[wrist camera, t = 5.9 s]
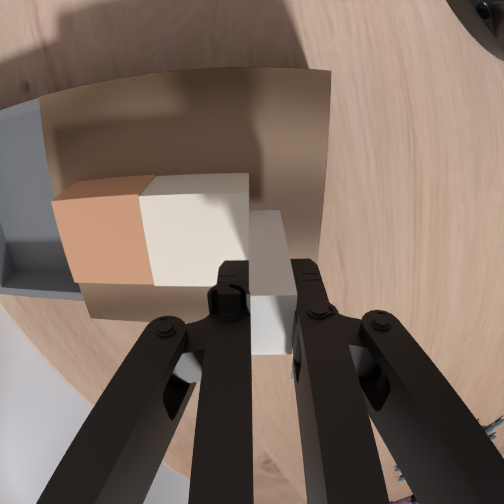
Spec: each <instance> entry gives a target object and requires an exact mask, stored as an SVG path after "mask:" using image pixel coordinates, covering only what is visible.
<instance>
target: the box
mask: <svg viewBox="0 0 504 504" xmlns="http://www.w3.org/2000/svg"><path fill="white" fill-rule="evenodd" d="M53 199H54V194H53V189H52V184H51V179H50V174H49V169H48V163H47V158H46V152H45V145H44V139H43V131H42V124H41V115H40V105H39V98H37V99H33V100H30V101H27V102H23V103H20V104H17V105H14V106H11V107H8V108H5V109H2V110H0V294H7V295H18V296H29V297H40V298H52V299H66V300H81V301H84V298H83V295H82V293H81V290H80V287H79V284H78V283H75V282H74V279H73V276H72V273H71V270H70V267H69V264H68V261H67V258H66V255H65V251H64V248H63V245H62V241H61V238H60V234H59V231H58V227H57V223H56V219H55V215H54V211H53V207H52V203H51V201H52V200H53Z"/></svg>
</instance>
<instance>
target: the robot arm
mask: <svg viewBox="0 0 504 504" xmlns="http://www.w3.org/2000/svg"><path fill="white" fill-rule="evenodd" d="M447 1H448V3H449V5H450V6H451V8H452V10H453V11H454V13H455V14H456V16H457V17H458V19H459V20H460V21H461V23H462V24H463V25H464V27H465V28H466V29H467V30H468V32H469V33H470V34H471V35H472V36H473V37H474V38H475V39H476V40H477V42H479V43H480V44H481V45H482V46H483V47H484V48H485V49H486V50H487V51H489V52H490V53H491V54H493V55H494V56H496V57H497V58H499V59H501V60H503V61H504V0H447ZM207 299H208V308H209V315H208V316H207V317H205V318H204V319H202V320H199V321H196V322H192V323H188V324H185V322H184V321H183V320H182V319H181V318H178V317H175V316H162V317H158V318H156V319H154V320H152V321H151V322H150V323H149V324H148V325H147V326H146V328H145V329H144V331H143V332H142V334H141V335H140V337H139V338H138V340H137V341H136V343H135V344H134V346H133V347H132V349H131V350H130V352H129V353H128V355H127V356H126V358H125V359H124V361H123V362H122V364H121V365H120V367H119V368H118V370H117V372H116V373H115V375H114V376H113V378H112V379H111V381H110V382H109V384H108V385H107V387H106V389H105V390H104V392H103V393H102V395H101V396H100V398H99V399H98V401H97V403H96V404H95V406H94V407H93V409H92V411H91V412H90V414H89V415H88V417H87V419H86V420H85V422H84V423H83V425H82V427H81V428H80V430H79V432H78V433H77V435H76V437H75V438H74V440H73V441H72V443H71V445H70V446H69V448H68V450H67V451H66V453H65V455H64V456H63V458H62V460H61V461H60V463H59V465H58V467H57V468H56V470H55V472H54V473H53V475H52V477H51V479H50V480H49V482H48V484H47V485H46V487H45V489H44V491H43V492H42V494H41V496H40V498H39V500H38V501H37V503H36V504H143V502H144V500H145V498H146V495H147V493H148V491H149V489H150V486H151V484H152V482H153V480H154V477H155V475H156V473H157V471H158V468H159V466H160V464H161V462H162V460H163V457H164V455H165V453H166V451H167V448H168V446H169V444H170V442H171V439H172V437H173V435H174V433H175V431H176V428H177V426H178V424H179V422H180V419H181V417H182V415H183V413H184V410H185V408H186V406H187V404H188V401H189V399H190V397H191V395H192V392H193V390H194V388H195V386H196V382H197V381H201V383H200V392H199V400H198V409H197V418H196V428H195V437H194V447H193V457H192V467H191V478H190V490H189V501H188V504H254V498H253V436H252V369H251V355H277V354H291V353H292V348H293V355H294V356H293V364H292V372H291V378H294V383H295V391H296V400H297V408H298V417H299V426H300V435H301V444H302V454H303V463H304V473H305V483H306V493H307V504H390V503H389V499H388V494H387V489H386V485H385V480H384V476H383V471H382V467H381V463H380V459H379V454H378V450H377V446H376V442H375V438H374V434H373V430H372V426H371V422H370V419H369V416H370V418H371V420H372V421H373V423H374V425H375V427H376V428H377V430H378V432H379V434H380V435H381V437H382V439H383V441H384V443H385V444H386V446H387V448H388V450H389V451H390V453H391V455H392V457H393V458H394V460H395V462H396V464H397V466H398V467H399V469H400V471H401V473H402V475H403V476H404V478H405V480H406V482H407V484H408V485H409V487H410V489H411V491H412V493H413V494H414V496H415V498H416V500H417V502H418V504H504V459H503V457H502V455H501V454H500V453H499V451H498V450H497V448H496V447H495V445H494V444H493V442H492V441H491V439H490V438H489V437H488V435H487V434H486V432H485V431H484V429H483V428H482V427H481V425H480V424H479V422H478V421H477V420H476V418H475V417H474V416H473V414H472V413H471V411H470V410H469V409H468V407H467V406H466V405H465V403H464V402H463V401H462V399H461V398H460V397H459V395H458V394H457V393H456V391H455V390H454V389H453V387H452V386H451V385H450V383H449V382H448V381H447V380H446V378H445V377H444V376H443V374H442V373H441V372H440V371H439V369H438V368H437V367H436V366H435V364H434V363H433V362H432V360H431V359H430V358H429V357H428V355H427V354H426V353H425V352H424V350H423V349H422V348H421V347H420V346H419V344H418V343H417V342H416V341H415V339H414V338H413V337H412V336H411V335H410V333H409V332H408V331H407V330H406V329H405V327H404V326H403V325H402V324H401V323H400V321H399V320H398V319H397V318H396V317H395V316H394V315H392V314H391V313H388V312H386V311H382V310H372V311H369V312H367V313H365V315H364V316H363V317H362V320H361V319H356V318H350V317H346V316H343V315H341V314H339V313H338V310H337V309H336V307H335V306H334V305H332V304H331V303H329V300H328V297H327V293H326V290H325V287H324V284H323V281H322V278H321V275H320V271H319V268H318V265H317V264H316V263H315V262H314V261H313V260H311V259H310V258H306V259H290V256H289V251H288V246H287V241H286V237H285V232H284V227H283V223H282V218H281V214H280V210H249V260H225V261H224V262H223V263H222V264H221V265H220V267H219V269H218V277H217V284H216V285H214V286H213V287H212V288H210V289H209V291H208V293H207ZM368 414H369V415H368Z"/></svg>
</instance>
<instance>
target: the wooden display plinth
mask: <svg viewBox="0 0 504 504" xmlns="http://www.w3.org/2000/svg"><path fill="white" fill-rule="evenodd" d="M330 94H331V71H328V70H316V69H301V68H279V67H229V68H206V69H192V70H180V71H169V72H160V73H152V74H145V75H138V76H131V77H125V78H119V79H113V80H107V81H102V82H97V83H92V84H88V85H83V86H78V87H74V88H70V89H66V90H62V91H58V92H54V93H50V94H47V95H43V96H40V97H39V105H40V115H41V124H42V131H43V139H44V145H45V152H46V158H47V163H48V169H49V174H50V179H51V184H52V189H53V194H54V198H56V197H57V196H58V195H59V194H61V193H62V192H63V191H65V190H66V189H67V188H69V187H70V186H71V185H73V184H74V183H75V182H77V181H85V180H94V179H105V178H116V177H128V176H141V175H155V176H168V175H188V174H217V173H249V210H280V214H281V218H282V223H283V227H284V232H285V237H286V241H287V246H288V251H289V256H290V259H306V258H310V259H311V260H313V261H314V262H315V263H316V264H317V259H318V250H319V241H320V232H321V222H322V212H323V202H324V190H325V178H326V165H327V151H328V135H329V117H330ZM78 284H79V287H80V290H81V293H82V295H83V298H84V301H85V304H86V307H87V309H88V312H89V315H90V317H91V318H96V319H109V320H124V321H141V322H151V321H152V320H154V319H156V318H158V317H162V316H175V317H178V318H181V319H182V320H183V321H184V322H185V323H192V322H196V321H199V320H202V319H204V318H205V317H207V316H208V315H209V308H208V299H207V293H208V291H209V289H210V288H212V287H213V286H155V285H154V284H107V283H78Z"/></svg>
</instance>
